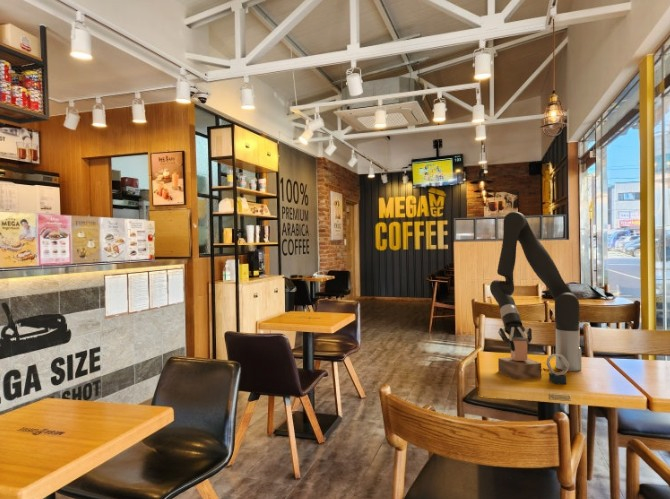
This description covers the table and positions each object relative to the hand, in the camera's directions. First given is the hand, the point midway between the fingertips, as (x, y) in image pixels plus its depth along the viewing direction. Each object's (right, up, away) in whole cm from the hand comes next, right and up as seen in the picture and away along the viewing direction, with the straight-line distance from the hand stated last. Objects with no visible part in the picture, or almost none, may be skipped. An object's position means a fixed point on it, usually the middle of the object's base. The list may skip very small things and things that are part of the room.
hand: (520, 350), depth 189 cm
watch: (+11, -11, -10) cm, 18 cm away
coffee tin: (0, -4, +2) cm, 5 cm away
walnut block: (0, -11, +2) cm, 11 cm away
